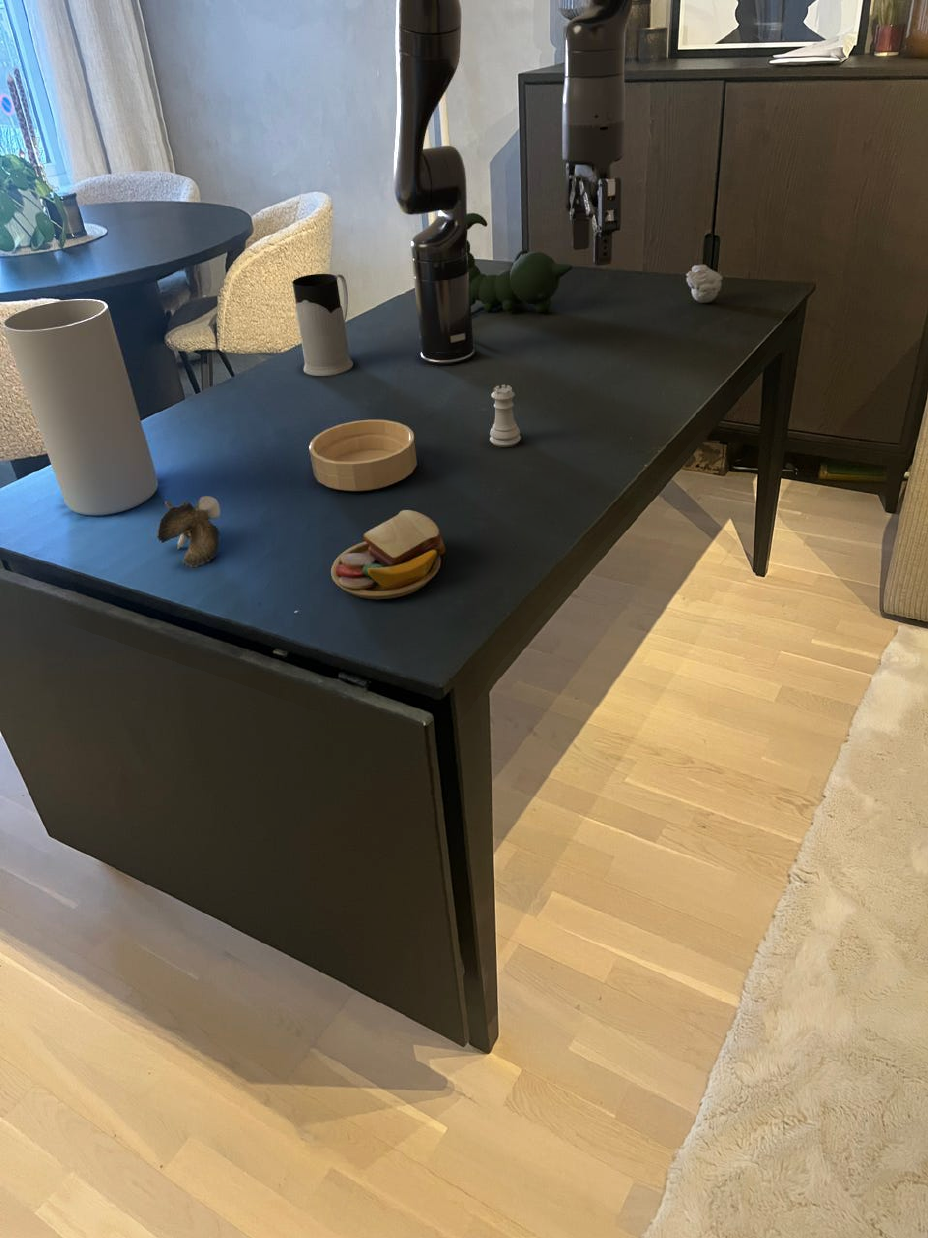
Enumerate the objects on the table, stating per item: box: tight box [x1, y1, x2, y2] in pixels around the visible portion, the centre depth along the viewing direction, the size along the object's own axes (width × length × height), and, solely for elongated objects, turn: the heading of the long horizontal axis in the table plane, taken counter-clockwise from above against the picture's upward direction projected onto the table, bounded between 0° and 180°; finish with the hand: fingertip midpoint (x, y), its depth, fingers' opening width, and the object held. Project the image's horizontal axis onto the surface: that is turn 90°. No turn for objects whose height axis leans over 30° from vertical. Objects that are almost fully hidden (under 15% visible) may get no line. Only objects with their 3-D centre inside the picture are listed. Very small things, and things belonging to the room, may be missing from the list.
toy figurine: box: [466, 212, 573, 314], centre depth 180 cm, size 9×19×25 cm
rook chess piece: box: [489, 384, 522, 448], centre depth 133 cm, size 4×4×8 cm
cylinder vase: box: [1, 298, 159, 516], centre depth 123 cm, size 12×12×25 cm
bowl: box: [309, 419, 418, 492], centre depth 129 cm, size 14×14×4 cm
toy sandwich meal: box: [330, 509, 446, 600], centre depth 107 cm, size 12×14×5 cm
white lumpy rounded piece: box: [685, 264, 723, 304], centre depth 178 cm, size 6×7×7 cm
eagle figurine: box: [156, 495, 221, 568], centre depth 115 cm, size 8×7×9 cm
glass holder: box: [291, 273, 354, 377], centre depth 164 cm, size 9×14×15 cm, turn 158°
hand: (590, 256), depth 123 cm, fingers open, 8 cm apart
